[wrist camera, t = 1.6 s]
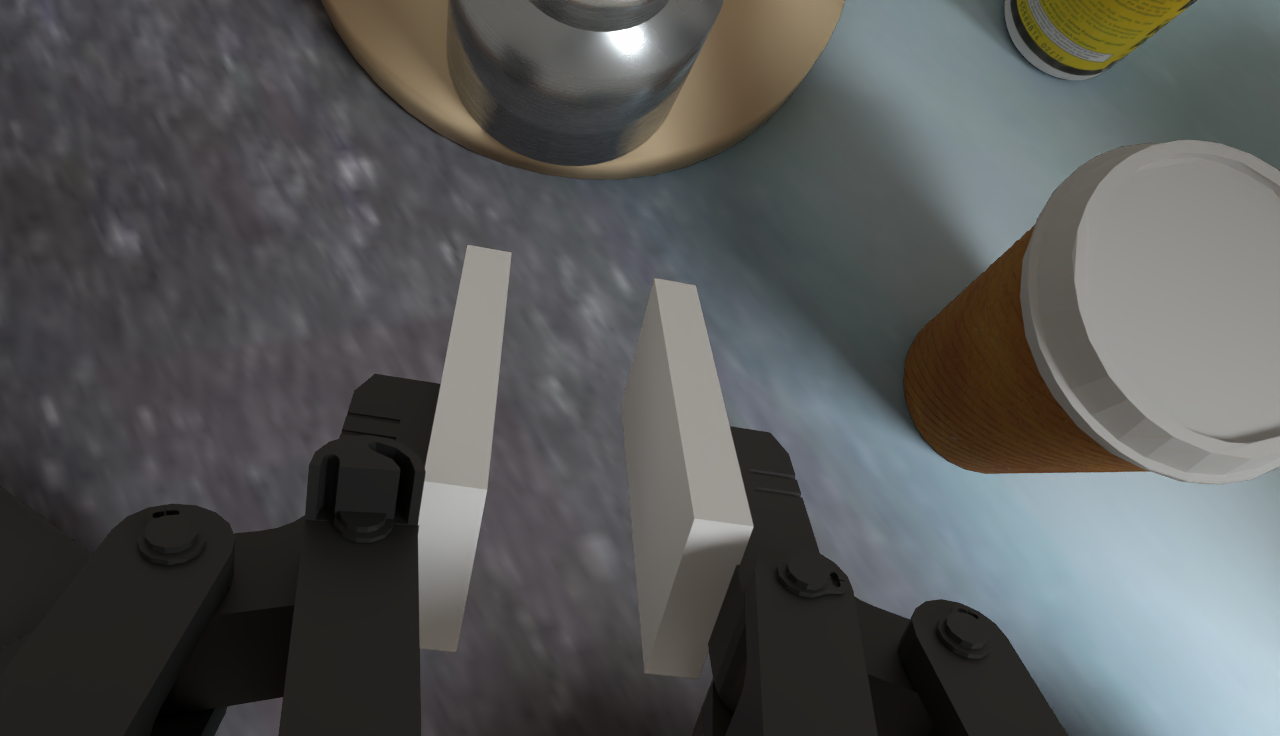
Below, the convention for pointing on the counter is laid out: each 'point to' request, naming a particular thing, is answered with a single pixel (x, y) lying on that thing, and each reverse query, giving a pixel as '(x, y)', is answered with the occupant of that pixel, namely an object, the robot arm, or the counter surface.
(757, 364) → the counter surface
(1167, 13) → the supplement bottle
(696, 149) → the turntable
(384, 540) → the robot arm
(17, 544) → the wheel rim
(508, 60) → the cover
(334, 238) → the counter surface
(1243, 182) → the disposable coffee cup
